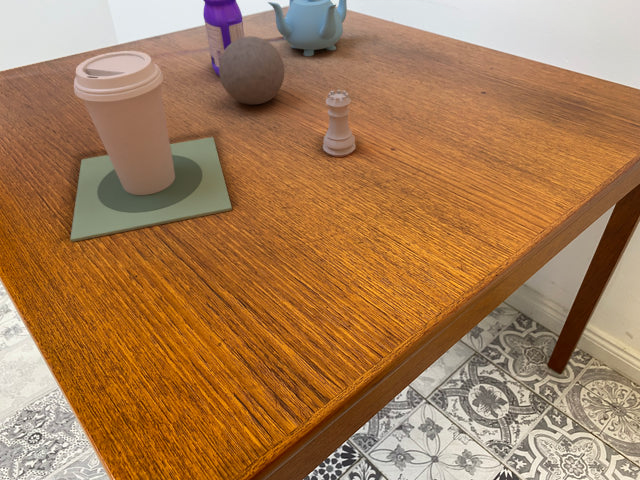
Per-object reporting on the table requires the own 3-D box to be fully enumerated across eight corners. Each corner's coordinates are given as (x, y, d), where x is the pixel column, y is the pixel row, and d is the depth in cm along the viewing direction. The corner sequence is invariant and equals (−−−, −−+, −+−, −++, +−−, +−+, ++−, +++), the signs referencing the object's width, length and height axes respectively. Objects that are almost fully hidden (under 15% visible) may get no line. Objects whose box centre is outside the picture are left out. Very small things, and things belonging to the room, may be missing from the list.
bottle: (255, 75, 91) (241, -34, 80) (226, 84, 89) (207, -28, 78) (236, 63, 96) (220, -42, 85) (208, 71, 94) (188, -36, 82)
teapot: (336, 62, 94) (335, 3, 88) (268, 57, 97) (262, 0, 91) (352, 38, 104) (352, -17, 97) (290, 34, 107) (286, -19, 100)
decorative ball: (268, 83, 88) (261, 22, 82) (298, 103, 82) (293, 39, 75) (214, 99, 84) (202, 37, 78) (242, 122, 78) (232, 56, 71)
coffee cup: (95, 184, 65) (51, 68, 56) (158, 153, 71) (128, 42, 61) (137, 212, 60) (96, 90, 51) (202, 177, 66) (176, 60, 56)
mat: (82, 161, 71) (81, 158, 70) (213, 139, 74) (213, 136, 74) (71, 242, 57) (69, 239, 57) (232, 210, 61) (231, 207, 60)
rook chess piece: (351, 159, 68) (350, 103, 63) (318, 156, 69) (315, 99, 64) (359, 143, 71) (359, 88, 66) (328, 139, 72) (326, 85, 67)
